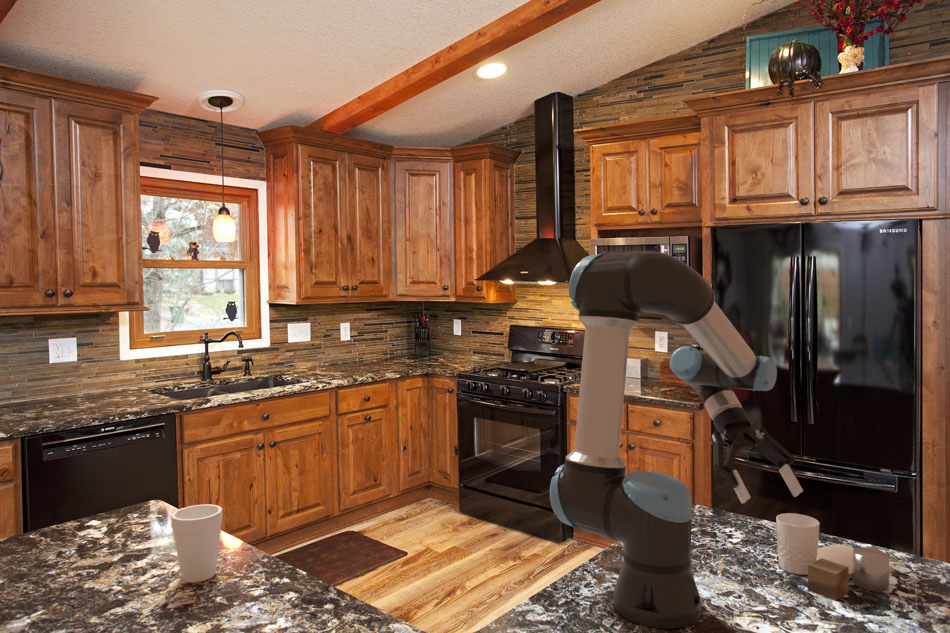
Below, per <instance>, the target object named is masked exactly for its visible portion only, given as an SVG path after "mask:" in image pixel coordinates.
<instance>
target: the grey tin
mask: <svg viewBox="0 0 950 633" xmlns="http://www.w3.org/2000/svg"><path fill="white" fill-rule="evenodd" d="M890 557H891V556H890V555H889V554H888V553H886V552H884V551H882V550H879V549H875V548H870V547H856V548H854V550H853V575H852V578H851V579H852V581H851V582H852V583H853V585H855V586H856V587H858V588H860V589H863V590H865V591H870V592H877V593H879V592H880V593H882V592H887V591H889V589H890V572H889V565H890V562H891V561H890V560H891V559H890Z"/></svg>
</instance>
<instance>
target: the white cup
mask: <svg viewBox="0 0 950 633" xmlns="http://www.w3.org/2000/svg"><path fill="white" fill-rule="evenodd" d="M775 517H776V518H775V520H776V521H775V522H776V523H775V524H776V545H777V554H778V565H779V568H780V569H782V570H783V571H785V572H787V573H790V574H794V575H800V576H808V565H809V564H811V563H813V562H815V561H816V559H817V550H818V548H819V538H820V524H821V523H820V521H819V520H817V519H816V518H814V517H812V516H810V515H806V514H800V513H793V512H792V513H791V512H787V513H780V514H777V515H776V516H775Z"/></svg>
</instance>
